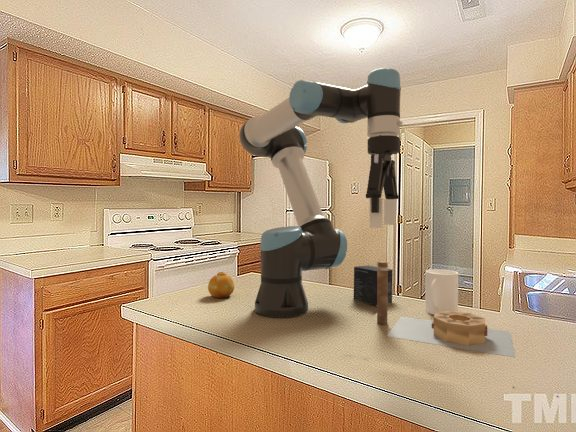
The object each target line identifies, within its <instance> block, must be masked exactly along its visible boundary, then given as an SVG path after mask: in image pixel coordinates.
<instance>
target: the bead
mask: <svg viewBox="0 0 576 432" xmlns="http://www.w3.org/2000/svg"><path fill="white" fill-rule="evenodd" d="M432 321H433V322H432V328H433V329H434V336H436V337H438V338H440V339H442V340H444V341H446V342H451V343H458V344H464V345H474V344H481V343H485V336H487V328H488V325H486V318H485V317H482V316H479V315H477V314H474V313H472V312H465V311H464V312H463V311H459V310H458V311H443V312H436V313H435V315H433V320H432Z"/></svg>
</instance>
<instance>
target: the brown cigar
mask: <svg viewBox="0 0 576 432" xmlns="http://www.w3.org/2000/svg"><path fill="white" fill-rule="evenodd" d="M388 265H389V263H388V261H377V265H376V267H377V306H376V308H377V310H376V314H377V315H376V316H377V317H376V324H377V325H380V326H386V325H388V269H389V266H388Z"/></svg>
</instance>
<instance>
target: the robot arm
mask: <svg viewBox="0 0 576 432" xmlns="http://www.w3.org/2000/svg"><path fill="white" fill-rule="evenodd" d="M366 83H367V84H366V85H364V86H362V87H360V88H357V89H351V88H348V87H342V86H336V85H331V84H326V83H321V82H317V81H315V80H306V79H305V80H304V79H301V80H297V81H295V83H294V84H293V87H292V88H291V89H290V92H289V97H288V98H285V99H284V100H283V101H281V102H280V103H279V104H277V105H275V106H274V107H272V108H271V109H269V110H267V111H266V112H264V113H262V115H259V116H254V117H250V118H248V120H247V121H245V122H244V123H243V124H242V125H241V127H240V130H239V134H238V139H239V142H240V144H241V146H242V148H243V149H244V150H245V151H246V152H247V153H248V154H251V155H252V156H255V157H262V158H270V161H271V163H272V166H273V167H275V168H276V169H278V171H279V174H280V177H281V179H282V183H283V186H284V188H285V192H286V195H287V197H288V199H289V200H288V201H289V203H290V207H291V208H292V209H291V210H292V212H293V214H294V218H295V221H296V224H297V226H296V225H293V226H292V225H289V226H282V227H281V226H280V227H275V228H270V229H266V230H265V231H263V233H262V234H261V237H260V246H259V250H260V285H259V289H258V291H257V294H256V297H255V301H254V312H255V313H256V314H258V315H261V316H263V317H269V318H279V319H280V318H292V317H293V318H294V317H300V316H302V315H304V314H307V312H308V311H309V301H308V297H307V294H306V291H305V288H304V285H303V272H305V271H315V270H328V269H332V268H336V267H339V266H340V265H341V264H342V263H343V262H344V260H345V258H346V255H347V252H348V240H347V236H346V234H345V233H344V232H343V231H342V230H340V229H338V228H334V226H333V223H332V221H331V219H330V218H328V217H326V216H324V213H323V211H322V208H321V205H320V203H319V201H318V198H317V195H316V193H315V190H314V187H313V185H312V181H311V178H310V176H309V174H308V171H307V169H306V165H305V163H304V161H303V160H304V158H305V154H306V152H307V148H308V146H307V143H308V141H307V137H306V133H305V132H304V131H303V129H302V128H300V127H298V126H300V125H301V124H303V123H304V124H305V122H308V121H309V120H312V119H313V118H316V117H326V118H334V119H335V120H336V121H338V122H339V123H341V124H349V123H350V124H351V123H355V122H358V121H361V120H363V119H366V118H367V132H366V133H367V134H366V135H367V137H368V139H367V154H368V155H370V166H369V167H370V168H369V174H368V180H367V188H366V193H365V198H366V199H369V228H370V229H371V228H375V229H382V228H383V227H384V226H383V225H387V226H388V225H389V226H396V225H397V224H396V221H397V220H396V215H397V213H396V209H397V208H396V203H397V202H396V201H397V200H399V199H400V195H399V194H398V185H397V178H396V160H395V159H392V155H397V154H399V153H400V152H401V138H400V137H399V136H400V135H401V127H400V126H402V125H403V121H402V120H401V89H402V87H401V75H400V73H399V71H398V70H397V69H394V68H390V67H381V68H377V69H373V70H372V71H370V72H369V73H368V75H367V81H366ZM383 192H384V197H385V198H384V199H383V197H382V195H383ZM383 211H384V212H383Z"/></svg>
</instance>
